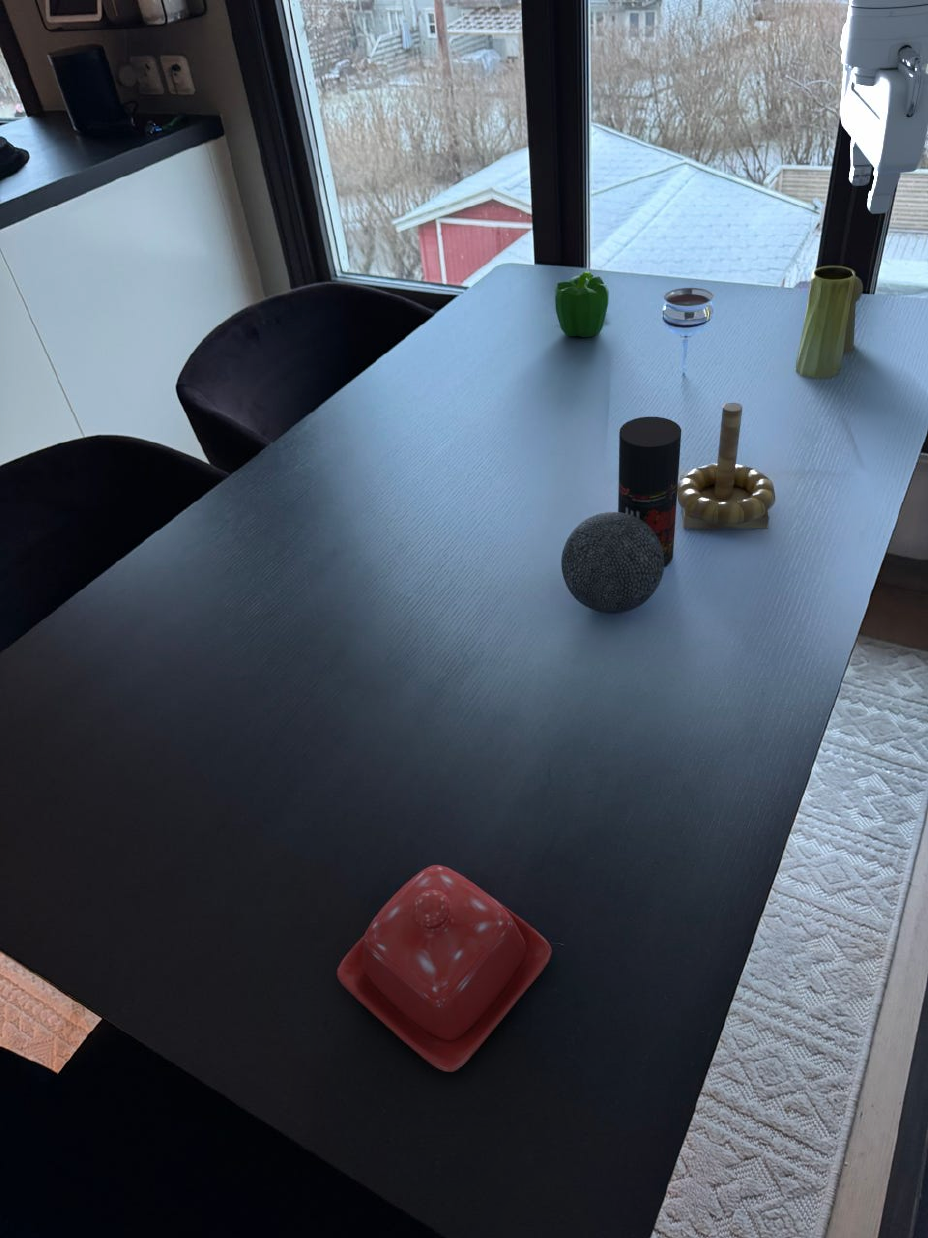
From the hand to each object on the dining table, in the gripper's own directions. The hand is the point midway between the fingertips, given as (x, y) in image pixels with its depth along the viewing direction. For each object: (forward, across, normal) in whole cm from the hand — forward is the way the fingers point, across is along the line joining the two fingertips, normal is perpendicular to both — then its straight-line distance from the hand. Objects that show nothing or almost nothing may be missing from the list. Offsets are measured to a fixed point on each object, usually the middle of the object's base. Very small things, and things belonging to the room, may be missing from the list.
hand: (867, 196), depth 91 cm
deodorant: (+28, -23, +22) cm, 43 cm away
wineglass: (+29, +18, +16) cm, 38 cm away
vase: (+29, +18, -2) cm, 34 cm away
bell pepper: (+28, +36, +31) cm, 56 cm away
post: (+28, -14, +13) cm, 34 cm away
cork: (+29, +25, -5) cm, 39 cm away
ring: (+26, -15, +13) cm, 33 cm away
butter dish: (+28, -72, +36) cm, 85 cm away
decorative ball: (+28, -31, +26) cm, 49 cm away
